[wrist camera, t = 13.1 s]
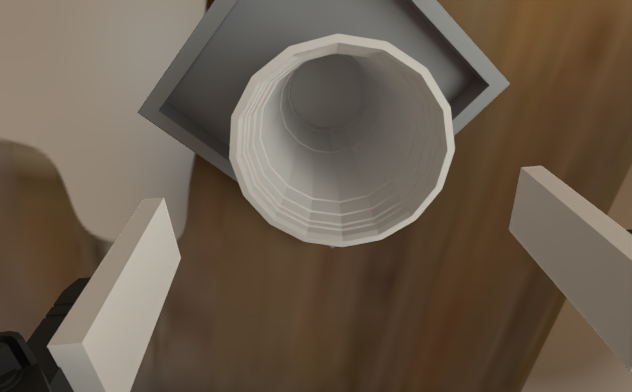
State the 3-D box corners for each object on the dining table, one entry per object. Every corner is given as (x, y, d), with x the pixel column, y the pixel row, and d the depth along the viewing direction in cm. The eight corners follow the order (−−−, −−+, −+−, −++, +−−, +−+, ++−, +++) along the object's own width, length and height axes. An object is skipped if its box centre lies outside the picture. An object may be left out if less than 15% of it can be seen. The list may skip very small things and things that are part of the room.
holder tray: (330, 228, 37) (332, 248, 34) (151, 99, 30) (137, 112, 28) (491, 73, 30) (510, 83, 28) (309, -129, 24) (311, -141, 21)
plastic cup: (274, -17, 26) (262, -6, 16) (424, 41, 28) (500, 85, 18) (233, 134, 31) (202, 220, 21) (363, 174, 33) (395, 270, 23)
